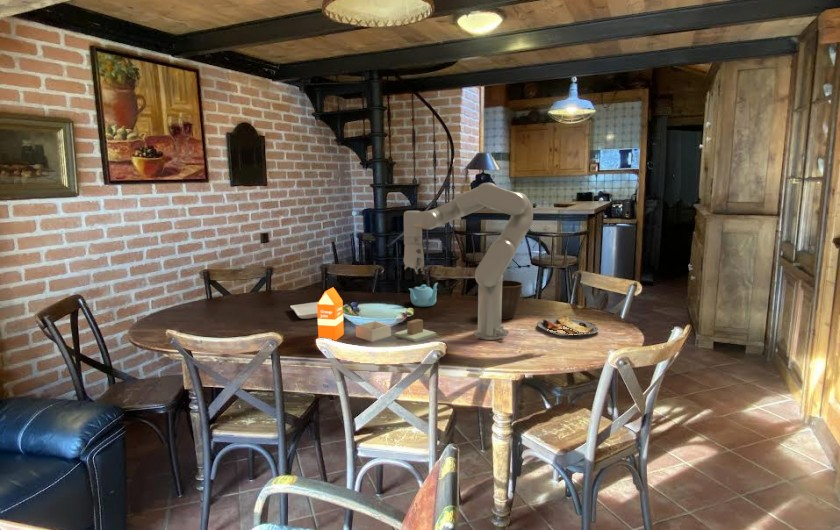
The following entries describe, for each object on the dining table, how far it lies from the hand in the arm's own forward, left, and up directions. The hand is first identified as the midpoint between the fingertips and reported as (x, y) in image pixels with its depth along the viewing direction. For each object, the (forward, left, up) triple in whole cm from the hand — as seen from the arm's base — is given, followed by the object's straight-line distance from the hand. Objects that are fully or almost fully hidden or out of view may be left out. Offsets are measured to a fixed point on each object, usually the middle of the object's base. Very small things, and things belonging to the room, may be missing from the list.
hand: (413, 281), depth 219 cm
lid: (-6, +5, -21) cm, 23 cm away
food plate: (-47, -45, -22) cm, 68 cm away
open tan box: (+5, +18, -21) cm, 29 cm away
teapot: (+28, -36, -22) cm, 50 cm away
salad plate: (+55, +12, -22) cm, 60 cm away
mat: (-6, +5, -21) cm, 23 cm away
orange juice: (+19, +29, -22) cm, 41 cm away
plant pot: (-16, -44, -22) cm, 51 cm away
